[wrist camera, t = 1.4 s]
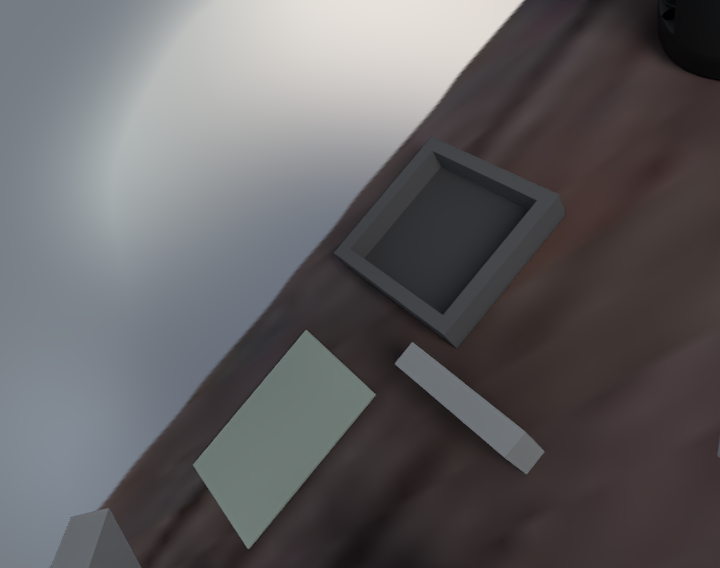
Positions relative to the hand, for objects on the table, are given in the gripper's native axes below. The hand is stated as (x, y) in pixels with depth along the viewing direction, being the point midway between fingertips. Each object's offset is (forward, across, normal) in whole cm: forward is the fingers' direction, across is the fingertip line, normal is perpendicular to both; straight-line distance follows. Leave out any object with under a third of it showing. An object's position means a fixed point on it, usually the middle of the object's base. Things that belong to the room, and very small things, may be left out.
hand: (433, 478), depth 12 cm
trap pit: (+36, +9, -11) cm, 39 cm away
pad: (+31, -9, -23) cm, 39 cm away
